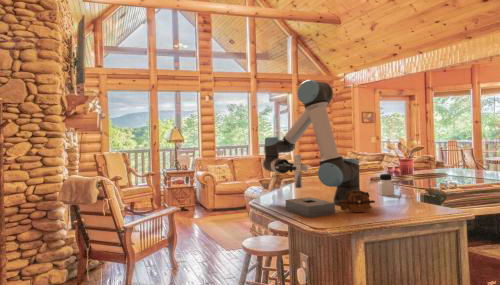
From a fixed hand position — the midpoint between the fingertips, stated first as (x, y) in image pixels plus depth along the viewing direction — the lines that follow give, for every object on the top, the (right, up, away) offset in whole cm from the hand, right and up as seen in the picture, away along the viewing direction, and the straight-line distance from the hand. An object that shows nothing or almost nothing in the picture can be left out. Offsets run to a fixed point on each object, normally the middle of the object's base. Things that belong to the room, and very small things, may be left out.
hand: (303, 168), depth 179 cm
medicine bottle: (+53, -18, +38) cm, 68 cm away
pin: (-2, -10, +5) cm, 11 cm away
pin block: (+2, -20, -4) cm, 21 cm away
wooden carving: (+23, -20, -8) cm, 31 cm away
